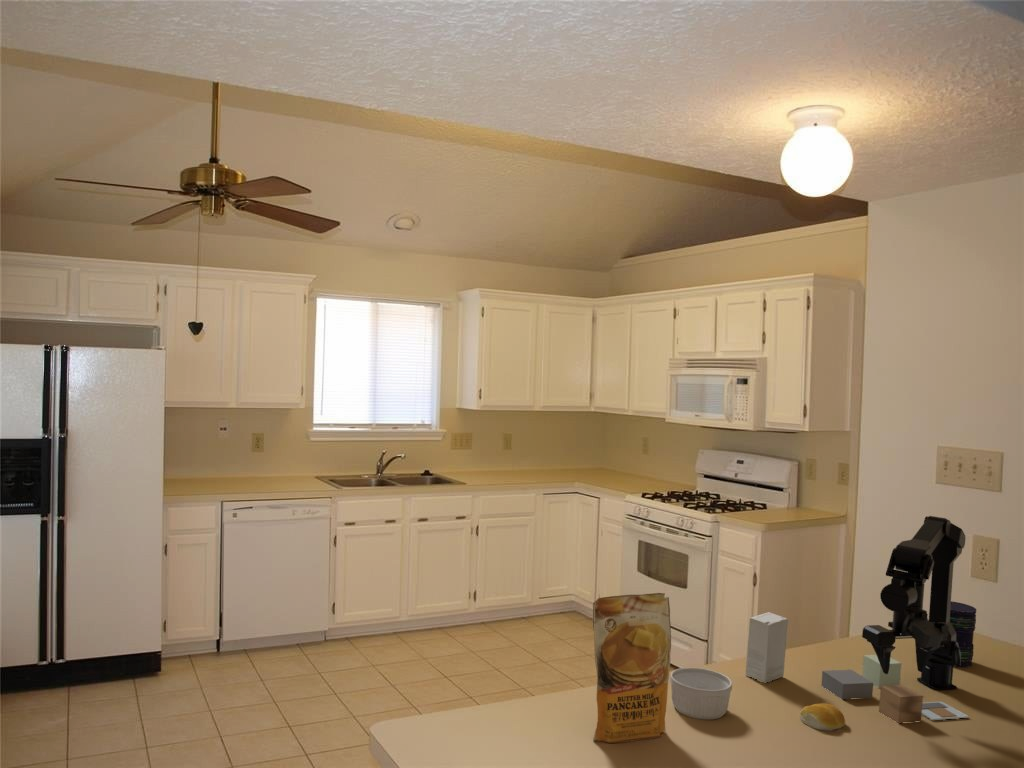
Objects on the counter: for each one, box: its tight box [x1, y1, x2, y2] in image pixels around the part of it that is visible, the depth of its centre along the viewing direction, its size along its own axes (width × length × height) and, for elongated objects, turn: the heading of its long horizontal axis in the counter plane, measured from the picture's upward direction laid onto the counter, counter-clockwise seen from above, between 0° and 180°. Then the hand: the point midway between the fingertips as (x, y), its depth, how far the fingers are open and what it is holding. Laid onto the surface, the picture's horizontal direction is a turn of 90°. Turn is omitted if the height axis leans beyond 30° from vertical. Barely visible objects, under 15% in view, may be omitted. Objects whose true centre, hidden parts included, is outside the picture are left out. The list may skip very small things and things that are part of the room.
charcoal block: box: [821, 669, 874, 700], centre depth 195 cm, size 8×8×4 cm
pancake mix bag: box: [592, 592, 672, 744], centre depth 165 cm, size 7×19×28 cm, turn 111°
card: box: [921, 701, 970, 721], centre depth 186 cm, size 10×8×1 cm
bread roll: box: [799, 703, 846, 732], centre depth 177 cm, size 8×9×4 cm
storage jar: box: [950, 600, 977, 669], centre depth 222 cm, size 10×10×15 cm
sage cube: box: [861, 654, 902, 689], centre depth 202 cm, size 6×6×6 cm
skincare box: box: [745, 611, 789, 684], centre depth 201 cm, size 8×6×15 cm
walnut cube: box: [878, 684, 924, 724], centre depth 182 cm, size 6×6×6 cm
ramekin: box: [669, 666, 733, 721], centre depth 180 cm, size 13×13×7 cm
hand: (903, 672), depth 182 cm, fingers open, 9 cm apart
